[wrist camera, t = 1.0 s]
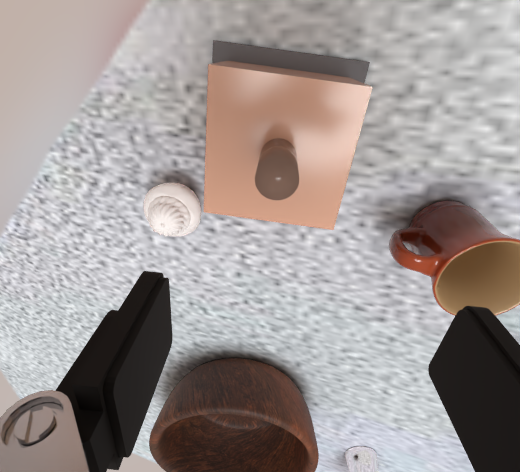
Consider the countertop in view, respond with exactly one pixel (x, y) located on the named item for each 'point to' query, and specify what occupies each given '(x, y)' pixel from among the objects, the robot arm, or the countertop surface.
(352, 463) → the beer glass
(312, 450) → the wooden bowl
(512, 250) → the mug
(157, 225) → the white ribbed dome
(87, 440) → the robot arm
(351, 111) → the cover
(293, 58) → the mat
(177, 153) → the countertop surface
